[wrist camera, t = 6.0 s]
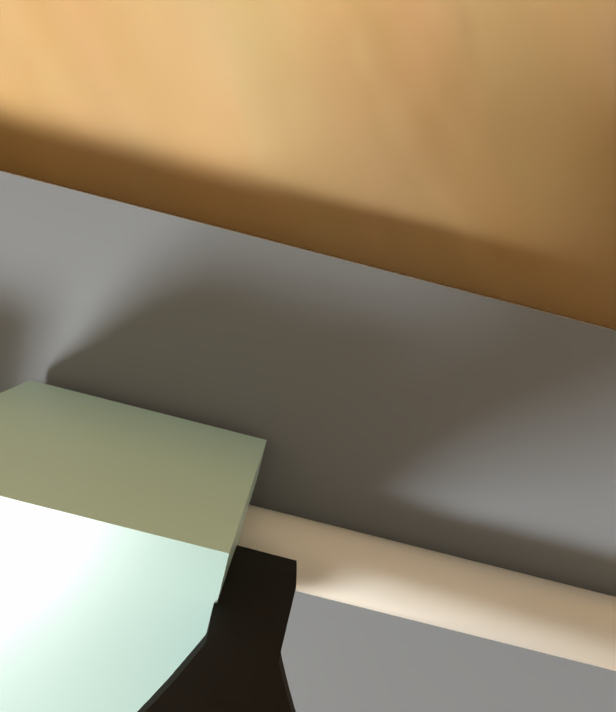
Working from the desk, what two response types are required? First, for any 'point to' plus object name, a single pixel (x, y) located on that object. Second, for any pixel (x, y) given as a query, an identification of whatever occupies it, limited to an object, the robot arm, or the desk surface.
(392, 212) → the desk surface
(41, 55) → the desk surface
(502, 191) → the desk surface
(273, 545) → the wooden dowel
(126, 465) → the sleeve
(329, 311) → the board
